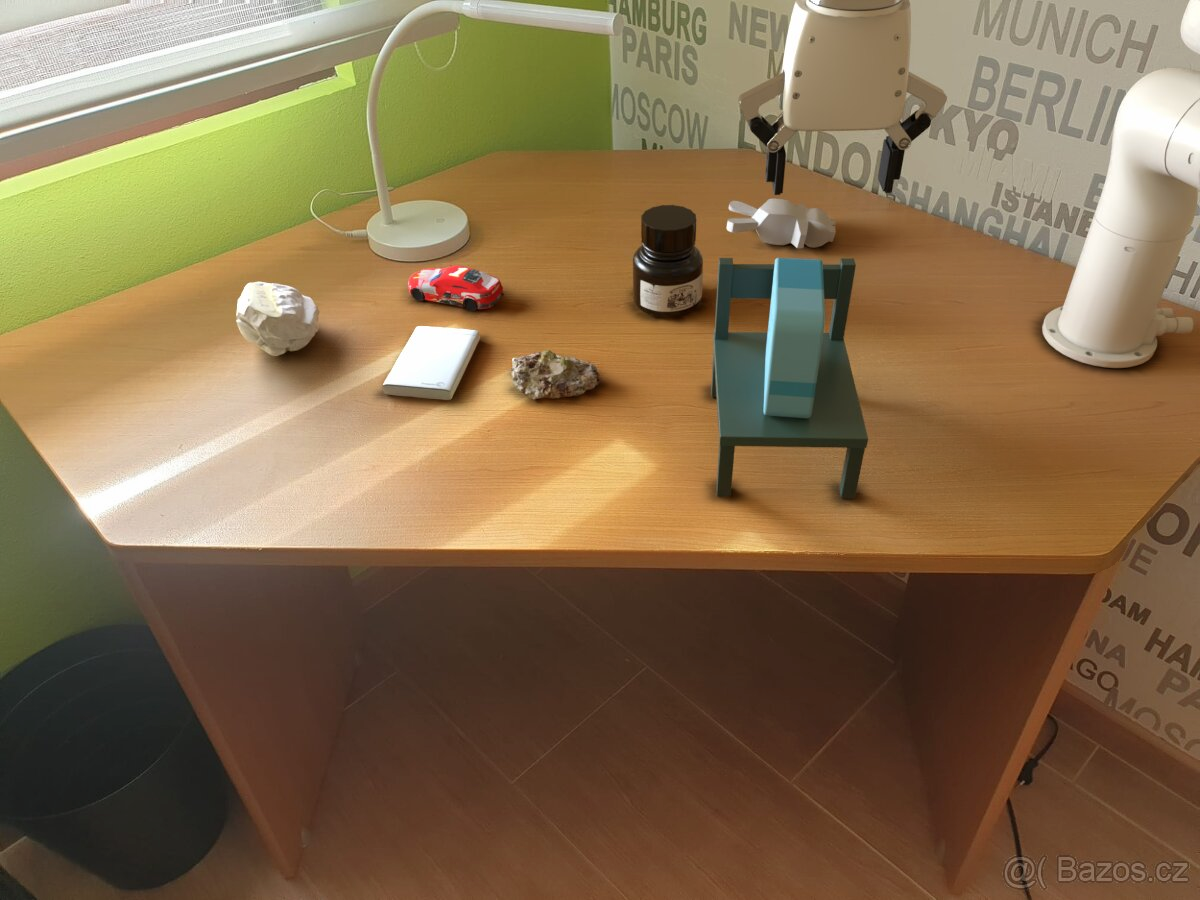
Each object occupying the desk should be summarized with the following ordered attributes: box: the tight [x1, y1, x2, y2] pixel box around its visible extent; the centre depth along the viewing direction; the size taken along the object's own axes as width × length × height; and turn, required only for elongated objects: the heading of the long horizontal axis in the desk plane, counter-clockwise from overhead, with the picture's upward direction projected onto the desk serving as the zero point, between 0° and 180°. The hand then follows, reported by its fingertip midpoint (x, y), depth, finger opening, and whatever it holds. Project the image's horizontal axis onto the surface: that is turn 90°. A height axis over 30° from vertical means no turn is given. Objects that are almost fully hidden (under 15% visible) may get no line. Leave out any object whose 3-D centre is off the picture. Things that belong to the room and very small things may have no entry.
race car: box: [407, 264, 505, 312], centre depth 126 cm, size 13×5×4 cm, turn 68°
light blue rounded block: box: [764, 257, 826, 418], centre depth 93 cm, size 12×4×12 cm, turn 171°
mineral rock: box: [510, 349, 602, 400], centre depth 111 cm, size 11×4×8 cm
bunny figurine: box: [726, 198, 836, 249], centre depth 135 cm, size 10×5×15 cm
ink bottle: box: [632, 204, 704, 319], centre depth 121 cm, size 10×9×12 cm
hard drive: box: [382, 325, 481, 401], centre depth 115 cm, size 2×8×12 cm
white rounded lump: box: [235, 281, 320, 357], centre depth 117 cm, size 12×8×10 cm
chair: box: [710, 257, 869, 500], centre depth 97 cm, size 14×18×17 cm
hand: (830, 187), depth 86 cm, fingers open, 9 cm apart
